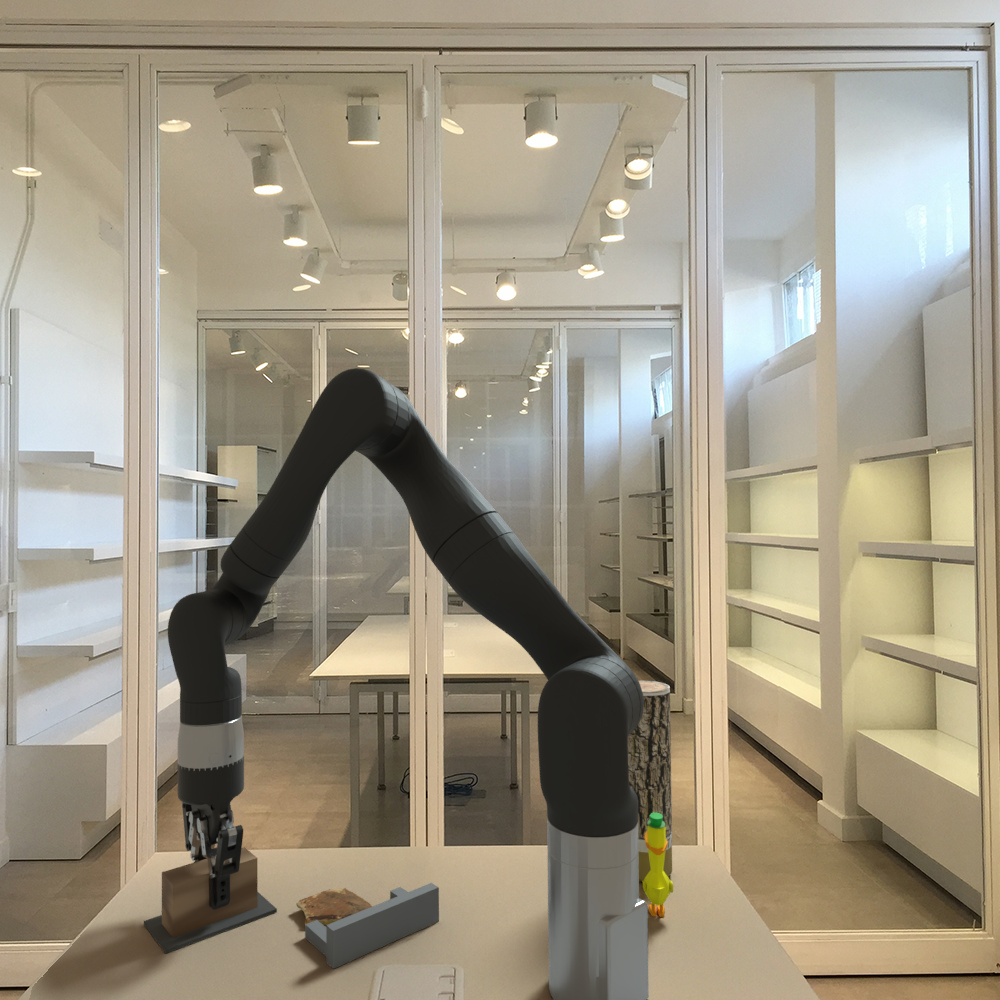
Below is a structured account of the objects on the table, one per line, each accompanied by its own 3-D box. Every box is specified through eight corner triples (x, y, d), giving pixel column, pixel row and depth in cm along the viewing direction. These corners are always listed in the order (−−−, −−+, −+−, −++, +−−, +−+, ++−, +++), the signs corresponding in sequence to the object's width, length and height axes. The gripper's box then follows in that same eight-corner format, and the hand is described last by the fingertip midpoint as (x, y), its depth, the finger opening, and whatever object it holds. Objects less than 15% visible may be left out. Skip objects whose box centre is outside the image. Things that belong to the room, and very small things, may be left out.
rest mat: (276, 912, 92) (276, 908, 92) (165, 953, 83) (165, 949, 83) (250, 888, 98) (250, 884, 98) (143, 924, 89) (143, 921, 89)
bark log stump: (614, 878, 100) (611, 688, 100) (630, 857, 106) (627, 678, 106) (664, 889, 96) (662, 694, 97) (678, 867, 102) (675, 683, 103)
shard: (391, 931, 88) (391, 915, 88) (333, 956, 83) (333, 940, 83) (343, 896, 96) (343, 882, 96) (288, 918, 91) (288, 903, 91)
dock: (439, 921, 89) (438, 887, 89) (333, 968, 80) (333, 930, 80) (403, 897, 95) (403, 865, 95) (301, 939, 86) (300, 903, 86)
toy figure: (639, 896, 95) (638, 801, 95) (668, 897, 94) (666, 801, 95) (645, 926, 88) (644, 822, 88) (676, 927, 88) (674, 823, 88)
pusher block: (257, 907, 92) (257, 857, 92) (172, 937, 86) (172, 884, 86) (244, 894, 95) (244, 847, 95) (161, 923, 89) (161, 872, 89)
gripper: (265, 762, 88) (266, 910, 88) (219, 736, 99) (220, 867, 98) (200, 778, 83) (201, 934, 83) (160, 748, 94) (159, 886, 93)
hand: (211, 897), depth 90 cm, fingers open, 4 cm apart
